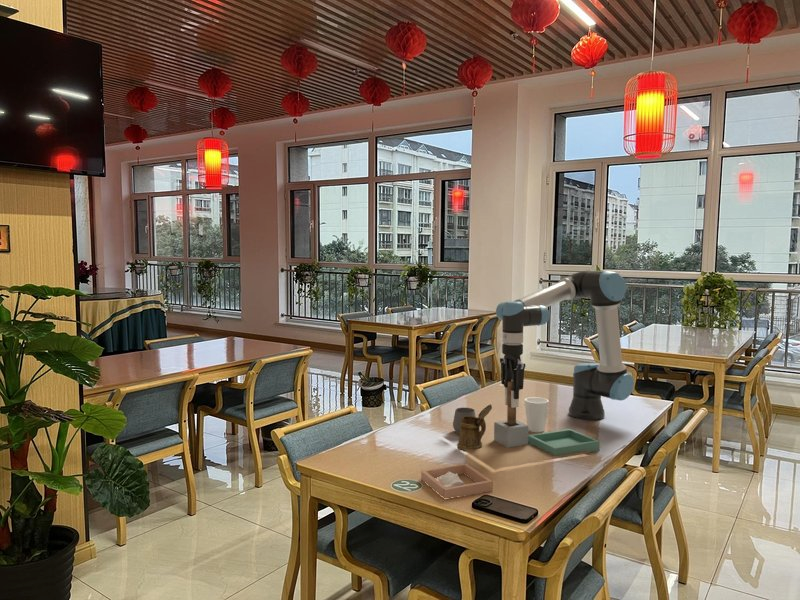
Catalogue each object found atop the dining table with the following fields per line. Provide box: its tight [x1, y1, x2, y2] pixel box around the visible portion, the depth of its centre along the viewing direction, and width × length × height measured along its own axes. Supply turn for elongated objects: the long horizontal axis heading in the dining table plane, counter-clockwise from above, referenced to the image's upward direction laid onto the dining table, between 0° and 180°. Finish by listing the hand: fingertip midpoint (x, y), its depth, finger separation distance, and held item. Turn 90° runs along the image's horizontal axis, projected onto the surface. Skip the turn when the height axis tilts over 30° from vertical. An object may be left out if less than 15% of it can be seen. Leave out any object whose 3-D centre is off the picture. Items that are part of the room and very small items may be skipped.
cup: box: [452, 407, 477, 435], centre depth 228 cm, size 10×9×10 cm
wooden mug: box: [456, 404, 493, 452], centre depth 211 cm, size 9×14×18 cm, turn 47°
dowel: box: [506, 381, 517, 426], centre depth 216 cm, size 3×3×18 cm
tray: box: [528, 428, 601, 458], centre depth 214 cm, size 20×16×4 cm
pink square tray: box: [420, 462, 494, 499], centre depth 179 cm, size 16×16×3 cm
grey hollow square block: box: [493, 419, 529, 448], centre depth 216 cm, size 9×9×8 cm
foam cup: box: [524, 396, 550, 433], centre depth 232 cm, size 10×9×13 cm
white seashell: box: [436, 472, 465, 488], centre depth 179 cm, size 10×4×10 cm
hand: (511, 405), depth 216 cm, fingers closed on dowel, 3 cm apart
